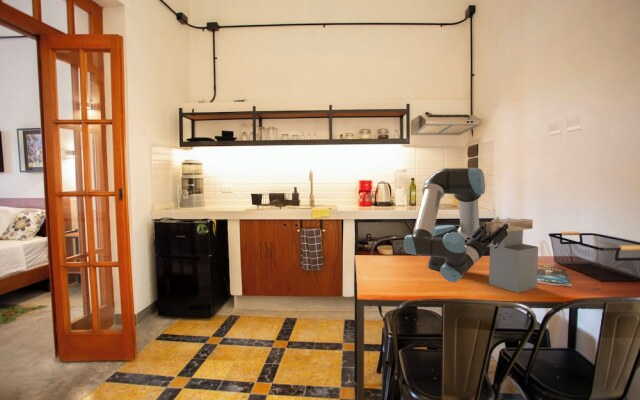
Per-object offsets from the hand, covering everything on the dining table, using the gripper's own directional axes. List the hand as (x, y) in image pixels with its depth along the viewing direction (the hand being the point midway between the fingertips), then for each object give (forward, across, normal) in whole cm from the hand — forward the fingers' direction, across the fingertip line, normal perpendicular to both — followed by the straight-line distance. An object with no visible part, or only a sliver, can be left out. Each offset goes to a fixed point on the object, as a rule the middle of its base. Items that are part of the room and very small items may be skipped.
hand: (504, 220), depth 138 cm
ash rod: (+1, 0, +6) cm, 6 cm away
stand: (-4, +4, +34) cm, 35 cm away
